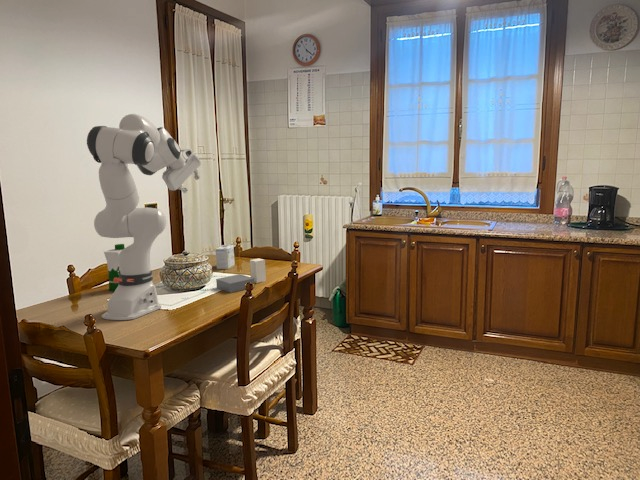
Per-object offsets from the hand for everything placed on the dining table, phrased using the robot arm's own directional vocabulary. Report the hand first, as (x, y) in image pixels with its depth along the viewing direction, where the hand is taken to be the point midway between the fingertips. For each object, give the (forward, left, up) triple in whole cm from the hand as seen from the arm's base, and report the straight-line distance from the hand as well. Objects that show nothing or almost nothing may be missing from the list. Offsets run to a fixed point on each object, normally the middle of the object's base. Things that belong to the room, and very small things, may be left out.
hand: (192, 185), depth 229 cm
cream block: (+2, -29, -45) cm, 53 cm away
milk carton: (-19, +29, -45) cm, 57 cm away
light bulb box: (+29, 0, -45) cm, 53 cm away
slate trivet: (-10, -23, -45) cm, 51 cm away
